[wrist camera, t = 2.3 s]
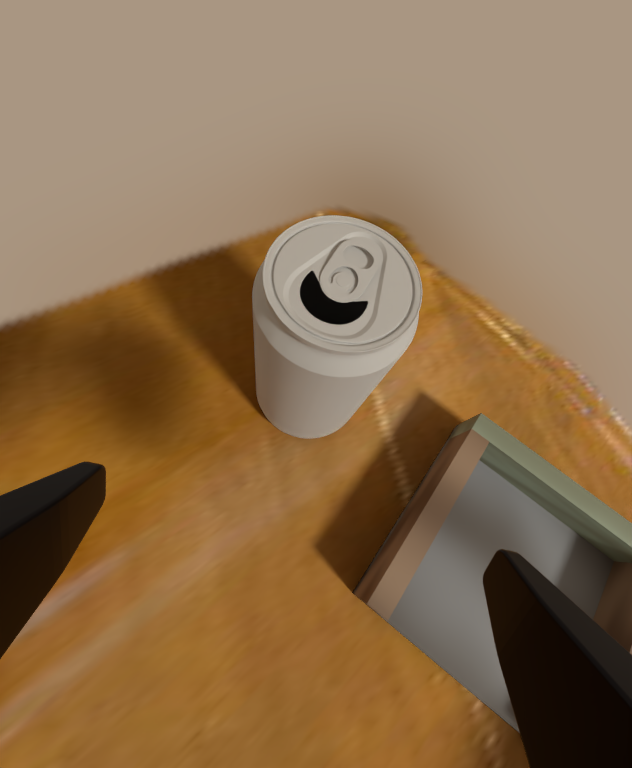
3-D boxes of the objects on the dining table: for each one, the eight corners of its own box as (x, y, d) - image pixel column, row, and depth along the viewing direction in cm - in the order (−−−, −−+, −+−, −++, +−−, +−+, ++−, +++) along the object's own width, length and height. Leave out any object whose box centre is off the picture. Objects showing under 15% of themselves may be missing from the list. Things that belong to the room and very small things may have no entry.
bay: (559, 766, 19) (611, 808, 16) (352, 592, 20) (366, 603, 17) (631, 556, 23) (682, 560, 20) (456, 425, 24) (481, 412, 22)
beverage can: (236, 408, 23) (211, 298, 12) (289, 330, 25) (310, 178, 14) (326, 460, 23) (387, 399, 11) (371, 377, 25) (459, 258, 14)
